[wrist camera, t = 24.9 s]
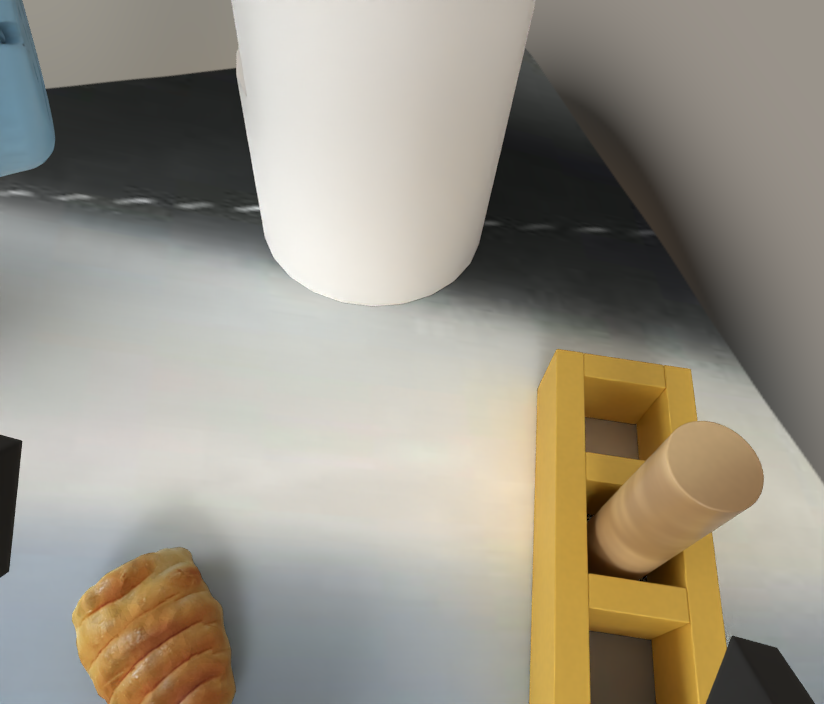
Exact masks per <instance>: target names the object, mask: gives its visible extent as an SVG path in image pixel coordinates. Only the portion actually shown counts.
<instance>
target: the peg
mask: <svg viewBox="0 0 824 704" xmlns="http://www.w3.org/2000/svg"><path fill="white" fill-rule="evenodd" d="M763 482H764V475H763V469H762V466H761V463H760V461H759V458H758V457H757V455H756V453H755V451H754V450H753V449H752V447H751V446H750V445H749V444H748V443H747V442H746V441H745V440H744V439H743V438H742V437H741V436H740V435H738V434H737V433H736V432H734V431H733V430H731V429H729V428H727V427H725V426H723V425H720V424H717V423H714V422H709V421H694V422H689V423H686V424H683V425H682V426H680V427H678V428H677V429H676V430H675V431H674V432H673V433H672V434H671V435H670V436H669V437H668V438H667V439H666V440H665V441H664V442H663V443H662V444H661V445H660V446H659V447H658V448H657V450H656V451H655V452H654V453H653V454H652V455H651V456H650V457H649V458H648V459H647V460H646V461H645V462H644V463H643V464H642V465H641V466H640V467H639V468H638V470H637V471H636V472H635V473H634V474H633V475H632V476H631V477H630V478H629V479H628V480H627V481H626V482H625V483H624V484H623V485H622V486H621V487H620V488H619V490H618V491H617V492H616V493H615V494H614V495H613V496H612V497H611V498H610V499H609V500H608V501H607V502H606V503H605V504H604V505H603V506H602V507H601V508H600V510H599V511H598V512H597V513H596V514H595V515H594V516H593V517H592V518H591V519H590V520H589V521H588V522H587V555H588V574H589V573H591V574H597V575H604V576H610V577H617V578H623V579H630V580H637V581H638V580H639V579H641V578H642V577H644V576H645V575H647V574H648V573H650V572H652V571H653V570H655V569H656V568H658V567H659V566H661V565H662V564H664V563H665V562H667V561H668V560H670V559H671V558H673V557H674V556H676V555H677V554H679V553H680V552H682V551H683V550H685V549H687V548H688V547H690V546H691V545H693V544H694V543H696V542H697V541H699V540H700V539H702V538H703V537H705V536H706V535H708V534H709V533H711V532H712V531H714V530H715V529H717V528H718V527H720V526H722V525H723V524H725V523H726V522H728V521H729V520H731V519H732V518H734V517H735V516H737V515H738V514H740V513H741V512H743V511H744V510H746V509H747V508H749V507H750V506H752V505H753V504H754V503H755V502H756V501H757V499H758V498H759V496H760V494H761V492H762V489H763Z"/></svg>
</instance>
